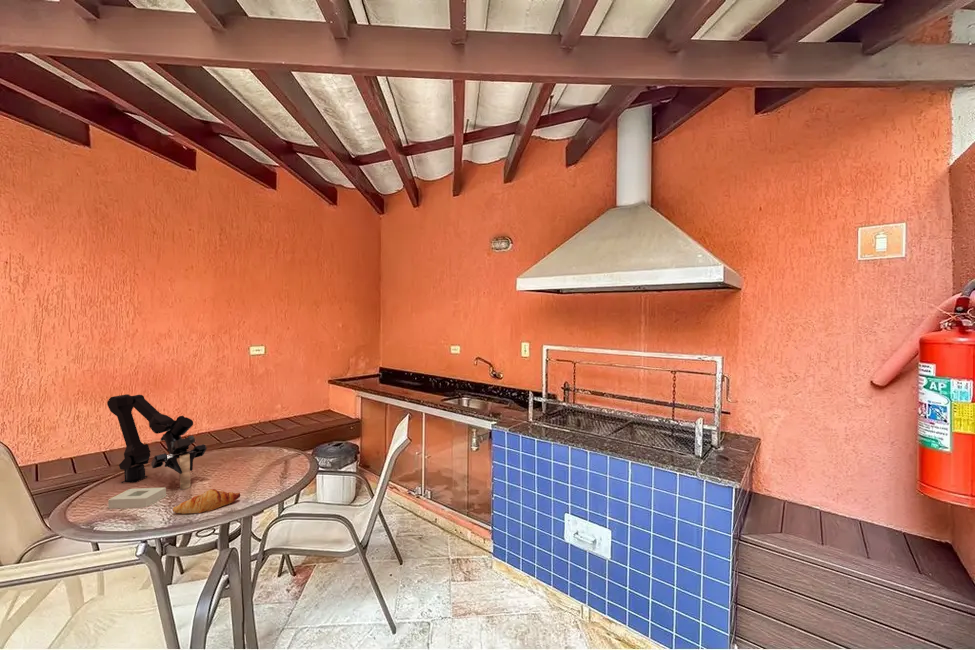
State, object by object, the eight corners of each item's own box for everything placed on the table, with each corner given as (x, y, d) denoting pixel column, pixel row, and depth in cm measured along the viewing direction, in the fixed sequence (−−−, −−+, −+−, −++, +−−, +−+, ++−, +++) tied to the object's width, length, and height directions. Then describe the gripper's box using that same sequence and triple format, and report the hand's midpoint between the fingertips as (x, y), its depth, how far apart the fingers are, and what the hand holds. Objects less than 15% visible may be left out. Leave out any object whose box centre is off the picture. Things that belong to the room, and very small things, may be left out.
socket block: (108, 508, 152) (108, 499, 152) (130, 497, 162) (130, 488, 162) (146, 507, 153) (146, 498, 153) (166, 496, 163) (166, 487, 163)
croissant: (172, 527, 144) (169, 512, 141) (175, 505, 152) (172, 490, 148) (240, 510, 155) (240, 496, 152) (240, 490, 163) (239, 476, 159)
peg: (178, 489, 169) (177, 456, 169) (184, 486, 172) (183, 454, 172) (186, 489, 169) (185, 456, 169) (192, 486, 173) (191, 453, 172)
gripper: (153, 436, 165) (165, 467, 159) (204, 426, 181) (216, 454, 175) (146, 452, 169) (157, 483, 163) (196, 441, 185) (208, 469, 179)
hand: (186, 471), depth 170 cm, fingers closed on peg, 3 cm apart
